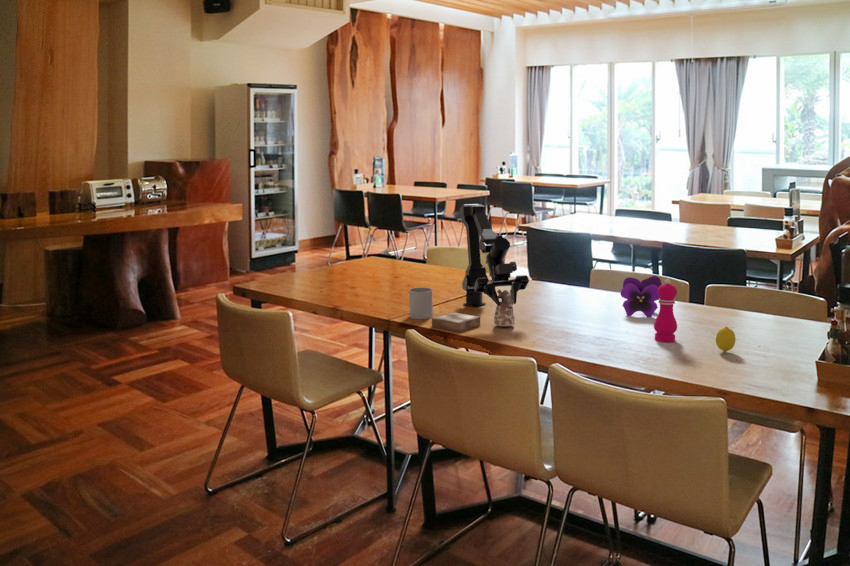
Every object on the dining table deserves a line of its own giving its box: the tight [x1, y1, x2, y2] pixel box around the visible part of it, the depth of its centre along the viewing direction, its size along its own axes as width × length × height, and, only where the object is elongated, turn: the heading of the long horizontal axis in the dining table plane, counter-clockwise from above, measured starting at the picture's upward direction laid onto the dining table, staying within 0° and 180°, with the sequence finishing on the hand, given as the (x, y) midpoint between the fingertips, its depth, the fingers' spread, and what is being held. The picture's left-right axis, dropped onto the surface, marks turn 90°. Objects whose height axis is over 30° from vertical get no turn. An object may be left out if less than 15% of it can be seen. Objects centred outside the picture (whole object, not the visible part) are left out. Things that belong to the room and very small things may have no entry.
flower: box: [620, 275, 663, 318], centre depth 285 cm, size 15×15×14 cm
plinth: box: [431, 311, 481, 333], centre depth 269 cm, size 12×12×3 cm
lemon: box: [715, 326, 736, 353], centre depth 233 cm, size 6×6×8 cm
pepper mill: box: [653, 278, 678, 343], centre depth 246 cm, size 7×7×20 cm
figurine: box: [493, 289, 515, 327], centre depth 266 cm, size 7×7×12 cm
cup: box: [408, 287, 433, 320], centre depth 282 cm, size 8×8×10 cm
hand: (507, 304), depth 264 cm, fingers closed on figurine, 6 cm apart
